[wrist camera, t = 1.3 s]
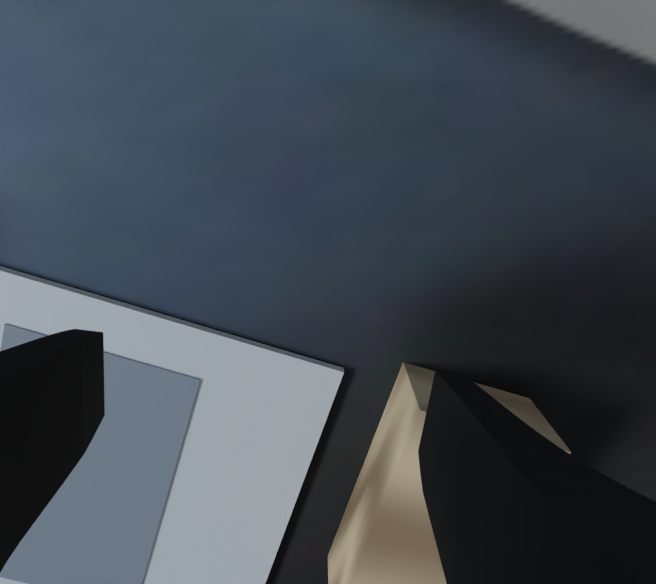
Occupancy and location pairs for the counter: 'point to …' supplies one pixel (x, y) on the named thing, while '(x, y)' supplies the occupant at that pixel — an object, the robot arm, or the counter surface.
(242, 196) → the counter surface
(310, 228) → the counter surface
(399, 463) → the slab
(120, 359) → the white flat plate
